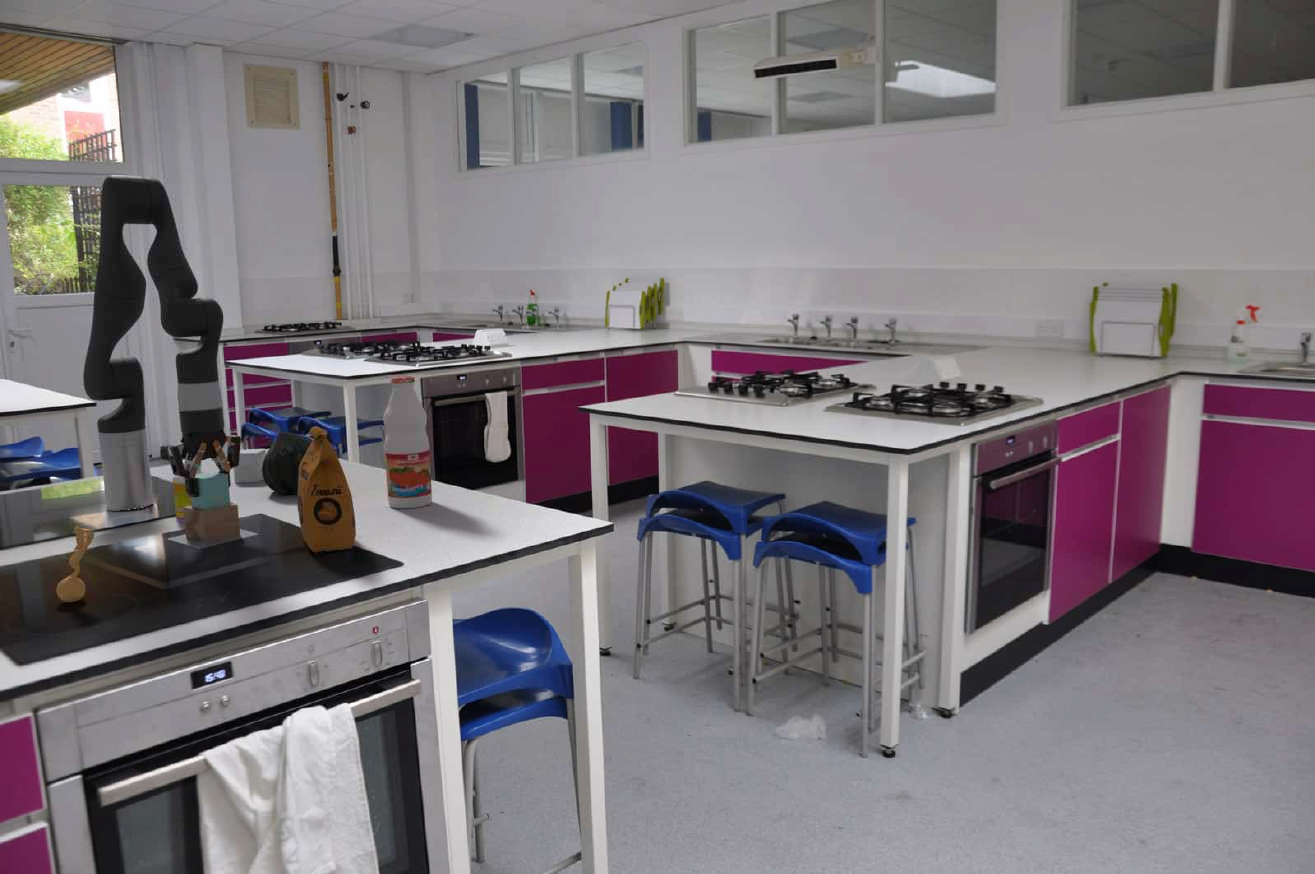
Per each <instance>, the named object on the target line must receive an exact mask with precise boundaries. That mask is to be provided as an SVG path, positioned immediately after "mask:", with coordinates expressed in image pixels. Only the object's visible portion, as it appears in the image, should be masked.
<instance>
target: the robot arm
mask: <svg viewBox="0 0 1315 874" xmlns="http://www.w3.org/2000/svg"><path fill="white" fill-rule="evenodd" d="M170 202H171V201H170V199H169V195H168V193H167V190H166V188H165V186H164V185H163V183H162V182H161V181H160V180H159V179H158V178H155V177H149V176H139V175H138V176H137V175H126V174H125V175H122V174H121V175H120V174H112V175H108V176H106V177H105V178H104V179H103V183H102V186H101V192H100V216H99V217H100V223H99V224H100V226H99V227H100V232H99V235H100V236H99V237H100V239H99V251H98V260H97V269H96V274H95V275H96V276H95V277H96V278H95V284H94V293H93V306H92V307H93V309H92V319H91V321H92V322H91V323H92V324H91V331H90V337H89V341H88V348H87V351H86V357H85V360H84V367H83V374H82V375H83V376H82V378H83V381H82V382H83V389H84V391H85V393H86V395H87V397H88V399H89V398H90V399H91V400H92V401H97V402H99V401H102V402H103V401H111V400H121V402H120V405H118V406H117V408H115V409H114V410H112V411H111V412H110V413H109V412H108V413H107V414H104V415H103V416H101V417H99V418H98V419H97V422H96V425H97V432H98V433H97V434H98V442H99V449H100V450H99V451H100V458H101V466H102V467H101V468H102V475H103V476H102V477H103V485H104V494H105V501H106V504H105V505H106V510H108V511H111V512H121V511H120V510H128V509H134V508H142V507H146V506H148V505H150V504H152V503H155V501H154V494H153V483H152V473H151V465H150V455H149V446H148V439H147V438H148V437H147V429H146V428H147V426H146V404H145V403H146V402H145V401H146V400H145V381H144V372H143V368H142V365H141V363H140V361H139V360H138V358H136V356H133V355H117V356H112V355H113V352H114V350H115V348H116V346H118V345H117V344H118V343H119V342H120V341H121V339H123V337H124V336H125V335H126V334H127V333H128V332H129V331H130V330H131V329H132V328H133V326H135V324H137V322H138V320H139V319H140V318H141V316H142V314H143V312H144V307H145V301H146V295H147V294H146V293H147V281H146V280H147V279H146V277H145V275H144V273H143V270H142V269H141V268H140V266H139V265H138V263H137V262H136V260H135V258H134V257H133V256H132V254H131V253H130V251H129V249H128V247H127V245H126V243H125V240H124V226H125V225H126V224H127V225H153V227H154V228H155V230H156V234H155V237H154V239H153V241H152V243H151V246H150V248H149V249H148V252H147V258H146V260H147V261H146V263H147V269H148V273H149V275H150V277H151V280H152V281H153V284H154V286H155V289H156V290H157V294H158V298H159V299H158V300H159V307H160V309H159V310H160V325H161V327H162V329H163V330H164V332H165V333H166V334H168V335H169V336H171V337H172V338H178V339H179V338H182V339H183V338H197V337H199V338H200V339H199V340H198V343H197V344H196V346H194V347H192V348H188V349H185V350H182V351H179V352H177V354H176V356H175V368H176V376H177V377H176V378H177V403H178V413H179V414H178V415H179V422H180V432H181V439H180V442H179V443H175V444H173V445H172V444H167V445H166V446H165V451H166V454H167V457H168V460H169V461H168V462H169V464H170V467H171V470H172V474H173V476H174V475H176V476H181V477H184V478H185V486H186V493H187V494H188V495H189V496H190V497H193V498H195V497H198V496H199V495H198V485H197V478H195V476H196V472H197V469H198V467H199V466H200V464H202V461H205V460H207V459H211V460H212V462H214V464H215V466H216V467H217V469H218V471H217V472H219V473H224V474H228V482H229V488H231V485H232V484H231V474H230V473H231V472H230V471H231V470H232V469H233V468H234V467H237V466H238V465H239V458H240V450H241V445H242V443H241V442H242V438H241V436H239V435H233V434H230V435H227V434H226V433H225V419H224V407H223V399H222V398H223V395H222V389H221V386H220V381H219V380H220V379H219V370H218V368H219V367H218V354H219V347H220V341H221V335H222V332H223V331H222V330H223V325H224V311H223V309H222V307H221V306H220V304H219V303H218V301H216V300H215V299H213V298H212V297H211V298H209V297H198V298H194V297H195V296H196V295H197V293H198V290H199V283H198V281H197V278H196V277H195V274H194V272H193V270H192V268H191V266H190V263H189V262H188V260H187V257H186V255H185V253H184V250H183V247H182V243H181V240H180V237H179V236H180V235H179V232H178V231H179V230H178V228H177V224H176V220H175V216H174V213H173V209H172V206H171V203H170ZM225 444H226V446H227V450H226V454H225V452H224V450H223V448H224V446H225ZM183 450H184V451H185V453H186V456H185V459H184V460H185V467H184V464H183V461H182V460H183V457H182V455H183ZM193 459H194V460H193ZM146 508H147V507H146ZM142 509H143V508H142Z"/></svg>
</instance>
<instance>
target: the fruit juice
mask: <svg viewBox="0 0 1315 874" xmlns="http://www.w3.org/2000/svg"><path fill="white" fill-rule="evenodd" d="M415 382H416V381H415V376H413V375H401V376H400V375H398V376H393V377H391V378H390V383H391V386H392V390H391V391H392V392H391V394H390V397H389V401H388V404H387V407H386V409H385V411H384V413H383V416H382V417H383V425H384V427H385V430H386V434H385V438H384V460H385V470H386V471H385V474H386V488H387V489H386V491H387V501H388V502H387V503H388V505H389V507H391V508H392V509H393V508H394V509H415V508H416V509H417V508H421V507H427V506H428V505H430V504H431V503H432V501H433V492H432V476H431V475H432V474H431V473H432V471H431V459H430V457H431V456H430V455H431V454H430V442H429V436H428V433H427V432H426V425H427V422H428V421H427V420H428V418H427V417H428V416H427V412H426V410H425V408H424V407H423V406H422V403H421V402H420V399H419V397H418V395H417V392H416V389H415V387H414V385H415Z"/></svg>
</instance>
